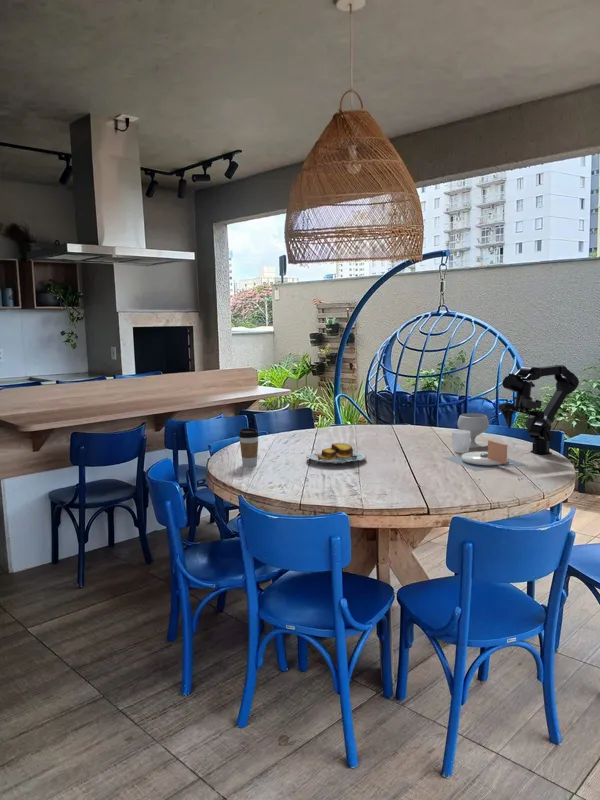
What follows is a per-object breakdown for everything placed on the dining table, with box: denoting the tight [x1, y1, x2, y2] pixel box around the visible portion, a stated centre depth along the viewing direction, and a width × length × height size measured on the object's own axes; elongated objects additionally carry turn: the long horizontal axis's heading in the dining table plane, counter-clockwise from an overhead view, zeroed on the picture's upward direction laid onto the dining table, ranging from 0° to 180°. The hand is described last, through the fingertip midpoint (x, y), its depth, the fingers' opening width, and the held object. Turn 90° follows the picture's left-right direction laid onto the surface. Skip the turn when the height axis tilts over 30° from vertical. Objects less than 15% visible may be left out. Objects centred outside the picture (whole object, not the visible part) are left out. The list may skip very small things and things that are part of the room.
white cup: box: [451, 429, 471, 454], centre depth 271 cm, size 8×8×10 cm
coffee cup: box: [238, 427, 260, 468], centre depth 258 cm, size 8×8×15 cm
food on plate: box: [305, 442, 367, 464], centre depth 263 cm, size 25×25×7 cm
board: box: [443, 455, 528, 472], centre depth 253 cm, size 24×24×1 cm
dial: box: [461, 439, 508, 465], centre depth 252 cm, size 18×19×9 cm
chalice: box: [456, 412, 490, 449], centre depth 283 cm, size 14×14×15 cm
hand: (519, 430), depth 258 cm, fingers open, 9 cm apart
